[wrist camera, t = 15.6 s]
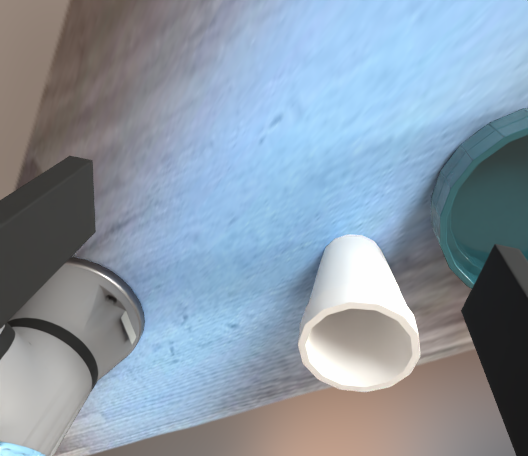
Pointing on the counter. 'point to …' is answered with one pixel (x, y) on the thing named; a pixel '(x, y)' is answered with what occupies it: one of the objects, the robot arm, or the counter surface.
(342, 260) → the foam cup
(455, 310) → the counter surface
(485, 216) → the bowl
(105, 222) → the counter surface
